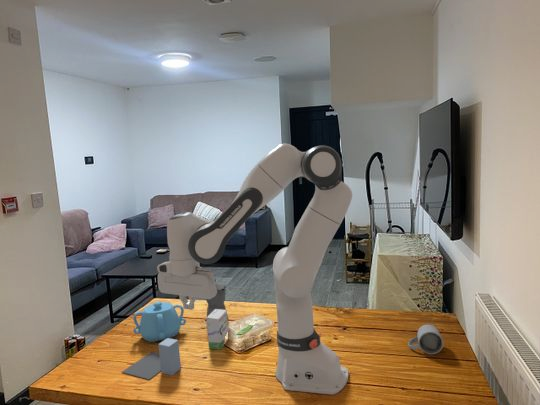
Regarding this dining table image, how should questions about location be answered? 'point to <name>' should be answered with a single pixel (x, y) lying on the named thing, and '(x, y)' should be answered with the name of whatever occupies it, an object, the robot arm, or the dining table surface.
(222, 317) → the ink box
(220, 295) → the coffeepot
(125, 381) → the dining table surface
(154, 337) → the decorative pot
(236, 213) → the robot arm
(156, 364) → the mat
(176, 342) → the block
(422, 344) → the ceramic mug
